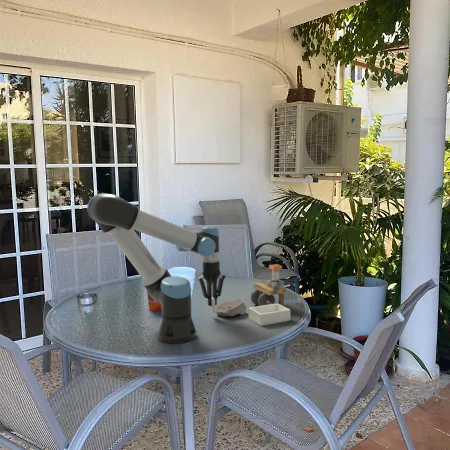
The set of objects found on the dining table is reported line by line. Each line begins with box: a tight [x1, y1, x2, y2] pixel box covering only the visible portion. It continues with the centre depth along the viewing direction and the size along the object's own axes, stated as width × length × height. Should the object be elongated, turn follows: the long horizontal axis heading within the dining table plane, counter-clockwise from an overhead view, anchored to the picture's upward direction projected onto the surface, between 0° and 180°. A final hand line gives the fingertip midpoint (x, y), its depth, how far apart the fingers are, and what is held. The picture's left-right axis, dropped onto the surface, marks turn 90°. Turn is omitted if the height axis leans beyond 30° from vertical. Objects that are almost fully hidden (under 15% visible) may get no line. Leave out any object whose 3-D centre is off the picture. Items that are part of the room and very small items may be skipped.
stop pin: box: [268, 263, 283, 282], centre depth 210 cm, size 4×4×11 cm
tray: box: [248, 302, 291, 327], centre depth 196 cm, size 15×11×5 cm
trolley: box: [250, 279, 287, 307], centre depth 214 cm, size 12×15×13 cm
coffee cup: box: [146, 292, 162, 312], centre depth 214 cm, size 8×8×15 cm
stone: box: [215, 298, 247, 317], centre depth 204 cm, size 13×10×6 cm
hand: (212, 312), depth 200 cm, fingers closed
